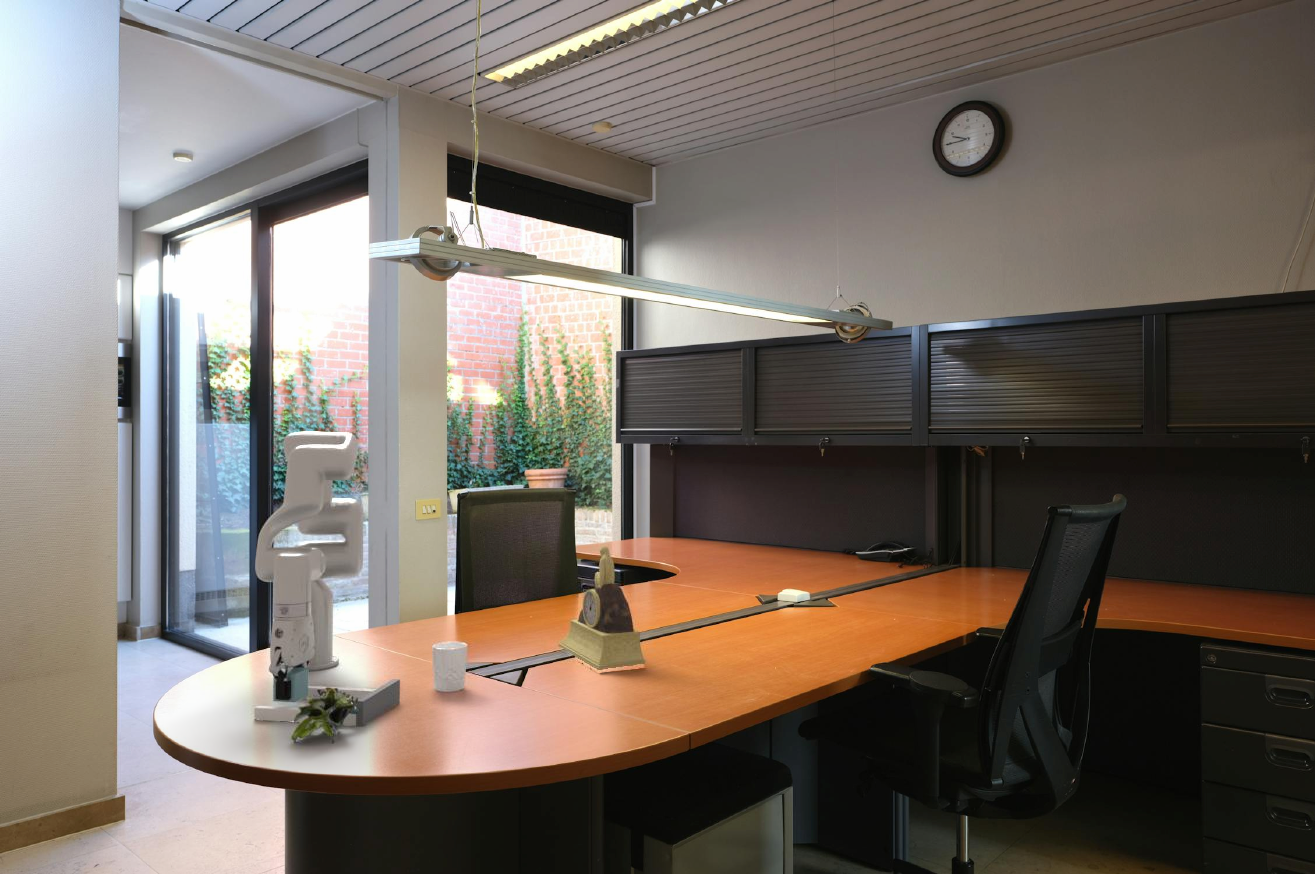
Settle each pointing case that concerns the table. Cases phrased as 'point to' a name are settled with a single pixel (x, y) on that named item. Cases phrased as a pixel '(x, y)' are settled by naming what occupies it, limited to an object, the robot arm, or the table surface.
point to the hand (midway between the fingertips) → (290, 694)
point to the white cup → (449, 666)
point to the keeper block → (295, 684)
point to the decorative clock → (604, 624)
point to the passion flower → (325, 713)
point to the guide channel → (368, 699)
